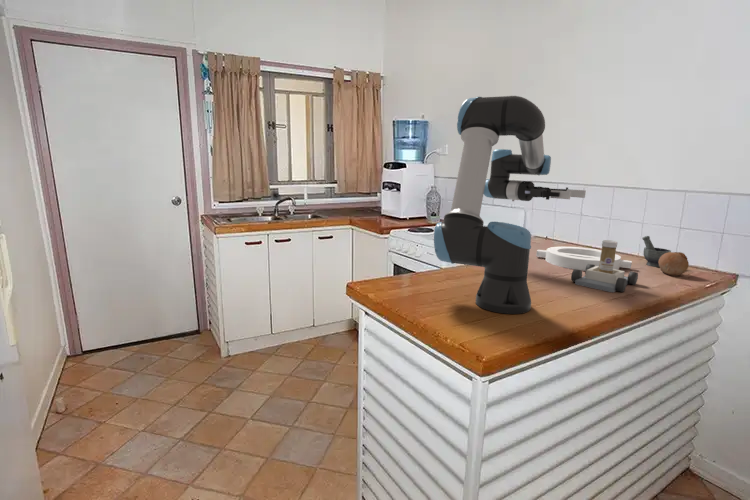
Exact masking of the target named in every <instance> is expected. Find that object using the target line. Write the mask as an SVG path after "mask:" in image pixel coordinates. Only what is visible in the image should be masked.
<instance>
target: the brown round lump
mask: <svg viewBox="0 0 750 500" xmlns="http://www.w3.org/2000/svg"><path fill="white" fill-rule="evenodd" d="M658 263H659V267H658V268H660V271H661V272H662V273H663V274H664V275H668V276H672V277H675V276H681V275H683V274H684V273H685V272H687V271H688V269H689V267H690V266H689V265H690V263H689V260H688V257H687V256H686V254H685V253H684V252H681V251H680V252H679V251H676V252H675V251H671V252H668V253H665V254H663V255H662V256H661V257H660V259H659V262H658Z"/></svg>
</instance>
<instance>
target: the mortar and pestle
mask: <svg viewBox="0 0 750 500" xmlns="http://www.w3.org/2000/svg"><path fill="white" fill-rule="evenodd" d="M641 239H642V240H643V243H644V244H645V247H644V248H643V256H644V259H645V260H646V265H647V266H648V267H653V268H660V267H659V263H658V262H659V259H660V257H661V256H662V255H663V254H665V253H668V252H672V250H671V249H667V248H661V247H660V248H659V247H655V245H653V243H652V240H651V237H650V235H646V236H643V237H642V238H641ZM646 265H645V266H646Z"/></svg>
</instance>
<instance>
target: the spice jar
mask: <svg viewBox="0 0 750 500" xmlns="http://www.w3.org/2000/svg"><path fill="white" fill-rule="evenodd" d="M601 246H602V247H601V250H602V251H601V256H600V263H599V272H604V273H609V274H612V272H613V267H614V261H615V254H616V251H617V248H618V241H616V240H609V239H603V240H602V243H601Z"/></svg>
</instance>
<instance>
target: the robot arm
mask: <svg viewBox="0 0 750 500" xmlns="http://www.w3.org/2000/svg"><path fill="white" fill-rule="evenodd" d="M456 129H457V133H458V135H459V136H460V138H461V141H462V142H463V143H464V144H463V148H462V153H461V157H460V163H459V168H458V173H457V177H456V178H457V179H456V183H455V188H454V193H453V198H452V204H451V209H450V211H449V212H447V213H445V214H444V216H443V221H440V222H437V223H436V224H435V227H434V231H433V247H434V252H435V255H436V258H437V259H438V260H439V261H441V262H443V263H450V264H451V265H452V264H458V265H465V266H474V267H481V268H484V271H483V272H484V274H483V278H482V281H481V283H480V286H479V287H478V290H477V292H476V295H475V305H477V306H478V307H479V308H481V309H483V310H487V311H489V312H493V313H500V314H506V315H507V314H509V315H515V314H516V315H519V314H525V313H528V312H530V311H531V308H532V300H531V294H530V291H529V286H528V285H529V284H528V272H529V263H530V252H531V251H530V250H531V249H532V245H531V243H532V241H531V240H532V234H531V231H530V230H529V229H527V228H526V227H522V226H520V225H517V224H514V223H509V222H503V221H502V222H501V221H490V222H488V224H487V226H485V225H484V220H483V218H482V217H481V216H480V214H481V210H482V205H483V198H484V196H485V197H486V198H489V199H496V200H497V199H498V200H499V199H500V200H511V201H512V202H515V201H523V202H530V201H532V199H534V198H543V199H545V200H550V199H561V200H570V199H571V198H580V199H581V198H582V199H585V198H586V191H587V190H585V189H569V187H565V188H550V187H545V186H535V184H534V182H533V181H528V180H527V181H526V180H514V179H513V180H510V177H511V175H531V176H533V175H534V176H545V175H546V176H547V175H549V174H550V171H551V165H552V157H551V155H548V154H545V149H544V137H543V133H544V132H545V130H546V119H545V116H544V114H543V112H542V110H541V109H540V108H539V107H538V106H537V105H536V103H533V102H532V101H531V100H530V99H527V98H526V97H522V96H519V95H505V96H483V97H482V96H475V97H469V98H466V99H465V100H464V101H463V102H462V103H461V105H460V108H459V111H458V115H457V123H456ZM500 136H501V137H502V136H507V137H508V136H514V137H515V138H516V139H517V140H518V143H519V147H520V152H521V154H515V153H513V150H512V149H504V148H499V149H498V148H496V149H494V150H493V146H495V145H497V143H498V142H499V139H500ZM491 156H492V157H491ZM490 160H491V161H490ZM490 163H491V164H490ZM489 166H490V174H489V175H490V176H489V178H487V176H488V170H489Z"/></svg>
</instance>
